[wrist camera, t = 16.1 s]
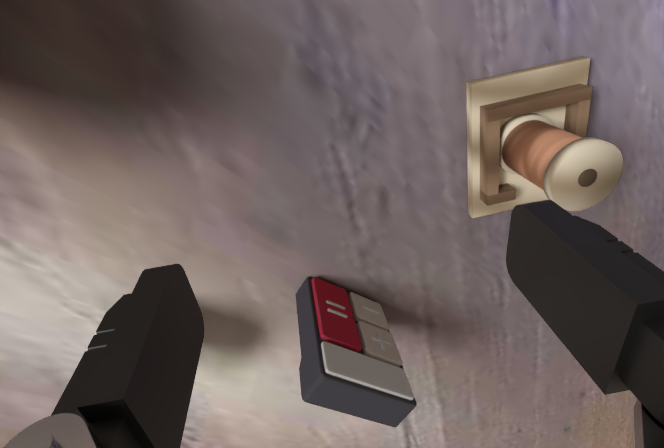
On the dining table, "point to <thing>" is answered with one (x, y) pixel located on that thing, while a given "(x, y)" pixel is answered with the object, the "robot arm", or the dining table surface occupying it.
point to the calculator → (350, 355)
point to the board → (513, 100)
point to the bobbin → (560, 161)
